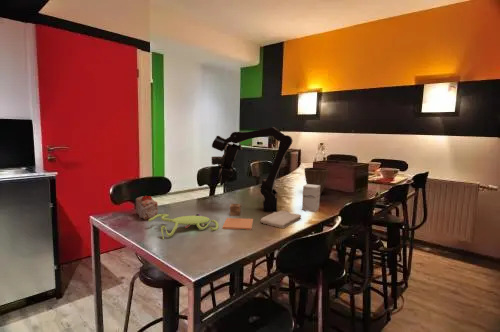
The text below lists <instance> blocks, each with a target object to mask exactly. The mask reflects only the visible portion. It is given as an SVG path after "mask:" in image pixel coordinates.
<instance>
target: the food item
mask: <svg viewBox="0 0 500 332" xmlns="http://www.w3.org/2000/svg"><path fill="white" fill-rule="evenodd" d="M158 208H159V205H158V202H157V201H155V200H153V197H152V196H151V195H149V196H148V195H144V196H139V197H136V198H135V213H136V214H137V215H138V216H139V219H141V218H142V219H143V220H145V221H146V220H149V219H151V218H153V217H154V216H156V215H158V211H159V209H158Z"/></svg>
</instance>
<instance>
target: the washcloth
mask: <svg viewBox="0 0 500 332" xmlns="http://www.w3.org/2000/svg"><path fill="white" fill-rule="evenodd" d="M300 219H301V220H302V215H301V214H299V213H291V212H289V211H284V210H279V211H277V212H272V213H270V214H267V215H266V216H263V217H261V219H260V224H262V223H263V225H266V224H267V226H271V227H274V226H275V227H274V228H278V227H279V229H285V228H287V227H289V226H290V225H293V224H295V223H296V222H298V221H300ZM292 223H293V224H292ZM288 225H289V226H288Z"/></svg>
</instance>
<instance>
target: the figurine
mask: <svg viewBox="0 0 500 332" xmlns="http://www.w3.org/2000/svg"><path fill="white" fill-rule="evenodd" d="M169 217H170V216H169V214H167V213H159V214H157V215H156V216H154V217H153V218H151V219H148V223H150V222H152V221H154V220H156V219H158V218H161V221H163V222H170V223H171V222H172V223H174V226H173V228H172V230H171V232H170V233H169V231H167V230H168V229H167V227H166V225H161V227H160V231H161V236H162V239H163V240H164V238H165V237H164V229H165V234H166V236H167V237H172V236H173V235H174V234H175V232H176V231H177V229H178V227H179V225H182V226H184V229H188V228H189V227H190V226H194V225H195V226H196V227H197V228H198V230H205V229H206V228H207V227H208V226H209V225H210V223H214V225H215V227H212V226H209V228H208V229H209V230H210V231H217V230H219V227H220V225H219V223H218V221H217V220H215V219H210V218H209V217H207V216H204V215H202V214H199V213H197V214H195V215H194V214H193V215H184V216H183V215H182V216H178V217H175V218H169ZM205 223H207V224H206V225H205Z"/></svg>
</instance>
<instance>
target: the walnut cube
mask: <svg viewBox="0 0 500 332" xmlns="http://www.w3.org/2000/svg"><path fill="white" fill-rule="evenodd" d="M229 207H230V208H229V216H230V217H231V216H232V217H234V216H235V217H240V216H241V213H242V212H241V211H242V204H241V203H231V204H230V206H229Z"/></svg>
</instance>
